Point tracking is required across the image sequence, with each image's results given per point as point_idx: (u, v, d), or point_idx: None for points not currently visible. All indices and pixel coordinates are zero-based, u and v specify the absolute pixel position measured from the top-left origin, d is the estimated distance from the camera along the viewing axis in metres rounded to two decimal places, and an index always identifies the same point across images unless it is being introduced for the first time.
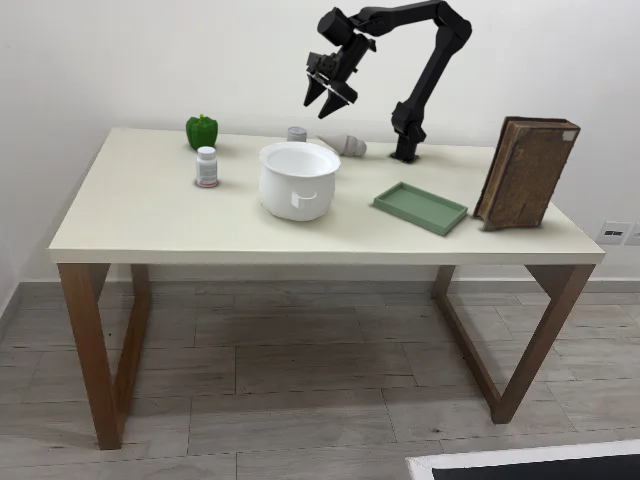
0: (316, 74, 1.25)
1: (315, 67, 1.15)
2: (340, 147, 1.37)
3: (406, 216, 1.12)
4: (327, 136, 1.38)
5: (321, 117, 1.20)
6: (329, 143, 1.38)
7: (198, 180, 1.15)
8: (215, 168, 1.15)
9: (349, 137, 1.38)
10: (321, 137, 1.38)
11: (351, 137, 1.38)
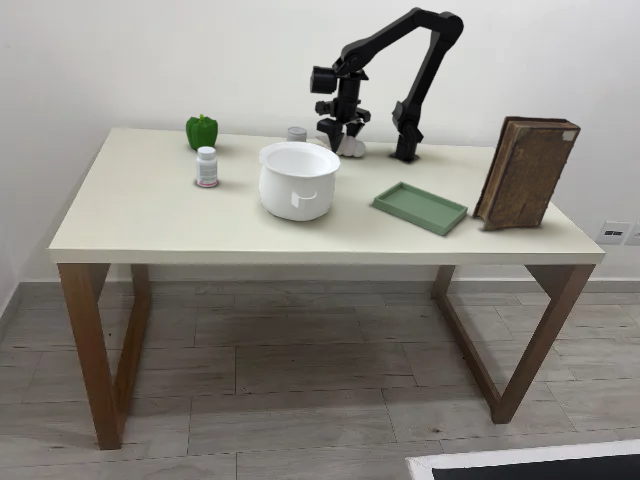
0: None
1: (319, 113, 1.37)
2: (339, 147, 1.37)
3: (406, 216, 1.12)
4: (326, 136, 1.38)
5: (334, 152, 1.38)
6: (328, 143, 1.38)
7: (198, 180, 1.15)
8: (215, 168, 1.15)
9: (348, 138, 1.37)
10: (320, 137, 1.38)
11: (350, 138, 1.37)
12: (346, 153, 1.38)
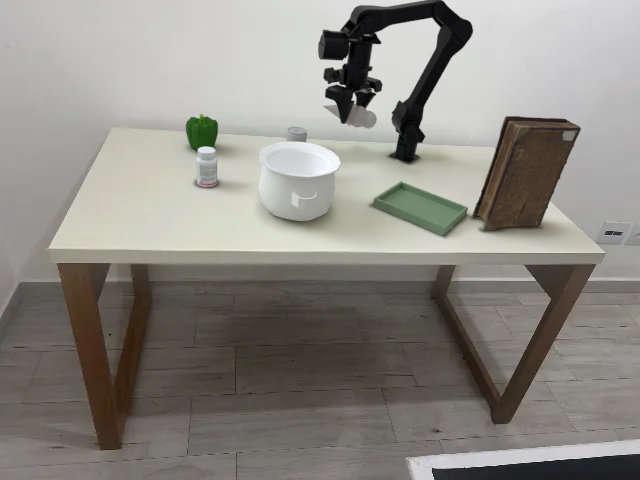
0: None
1: (327, 81, 1.30)
2: (348, 117, 1.30)
3: (406, 216, 1.12)
4: (335, 106, 1.31)
5: (343, 122, 1.31)
6: (337, 113, 1.31)
7: (198, 180, 1.15)
8: (215, 168, 1.15)
9: (358, 107, 1.30)
10: (328, 107, 1.31)
11: (360, 107, 1.30)
12: (356, 124, 1.31)
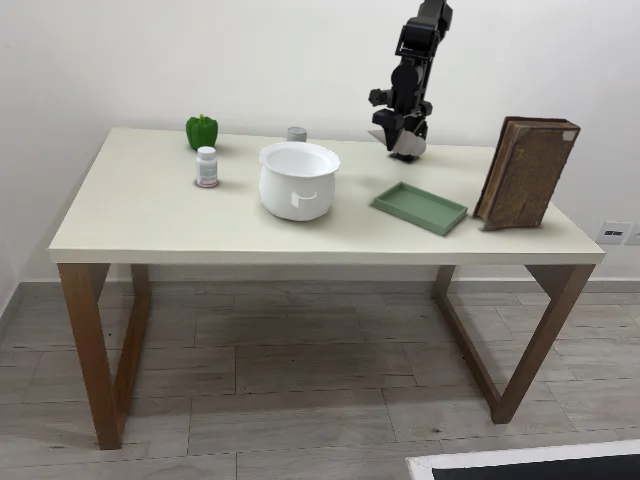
0: None
1: (372, 104, 1.16)
2: None
3: (406, 216, 1.12)
4: (380, 131, 1.17)
5: (389, 150, 1.16)
6: (382, 140, 1.17)
7: (198, 180, 1.15)
8: (215, 168, 1.15)
9: (406, 133, 1.16)
10: (373, 132, 1.17)
11: (409, 133, 1.16)
12: (403, 151, 1.17)
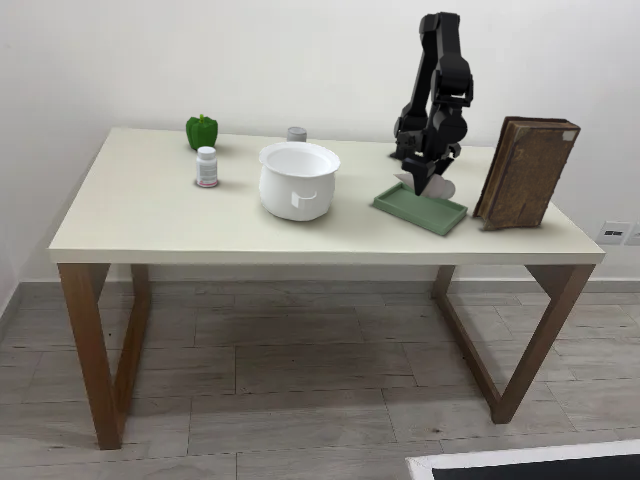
0: None
1: None
2: (424, 189, 1.11)
3: (406, 216, 1.12)
4: (408, 175, 1.12)
5: (418, 194, 1.12)
6: (410, 184, 1.12)
7: (198, 180, 1.15)
8: (215, 168, 1.15)
9: (435, 177, 1.11)
10: (400, 176, 1.12)
11: (438, 177, 1.11)
12: (432, 196, 1.12)
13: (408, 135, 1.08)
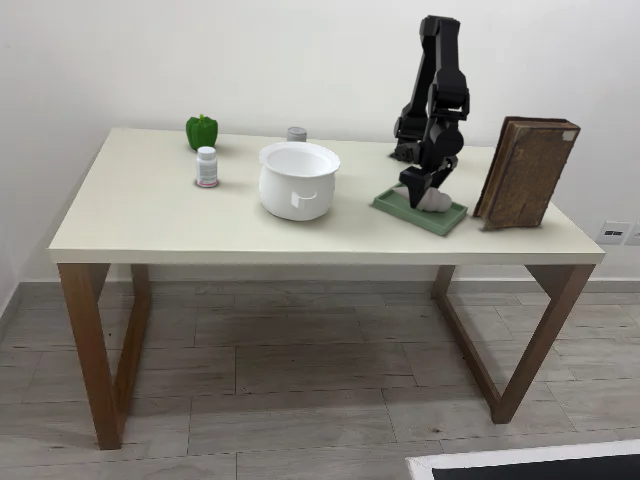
0: None
1: None
2: (420, 202, 1.13)
3: (406, 216, 1.12)
4: (405, 189, 1.14)
5: (413, 207, 1.12)
6: (407, 197, 1.14)
7: (198, 180, 1.15)
8: (215, 168, 1.15)
9: (432, 190, 1.13)
10: (397, 190, 1.14)
11: (434, 190, 1.13)
12: (429, 209, 1.14)
13: (405, 147, 1.09)
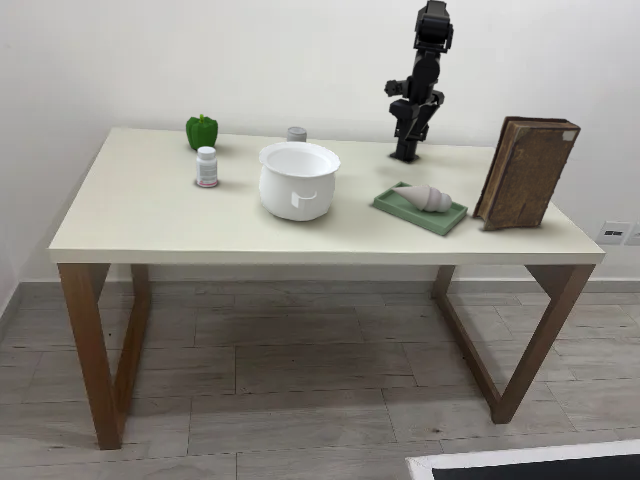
0: None
1: (388, 94, 1.22)
2: (420, 202, 1.13)
3: (406, 216, 1.12)
4: (405, 189, 1.14)
5: (403, 139, 1.22)
6: (407, 197, 1.14)
7: (198, 180, 1.15)
8: (215, 168, 1.15)
9: (432, 190, 1.13)
10: (397, 190, 1.14)
11: (434, 190, 1.13)
12: (429, 209, 1.14)
13: (395, 82, 1.19)
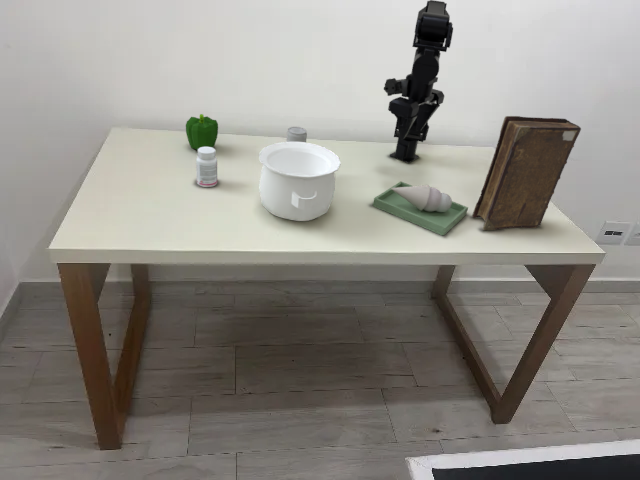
0: None
1: (387, 93, 1.22)
2: (420, 202, 1.13)
3: (406, 216, 1.12)
4: (405, 189, 1.14)
5: (402, 138, 1.22)
6: (407, 197, 1.14)
7: (198, 180, 1.15)
8: (215, 168, 1.15)
9: (432, 190, 1.13)
10: (397, 190, 1.14)
11: (434, 190, 1.13)
12: (429, 209, 1.14)
13: (395, 81, 1.19)
